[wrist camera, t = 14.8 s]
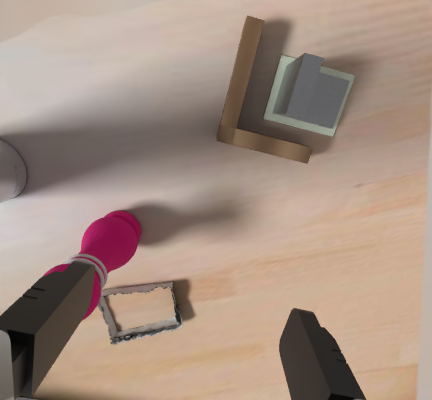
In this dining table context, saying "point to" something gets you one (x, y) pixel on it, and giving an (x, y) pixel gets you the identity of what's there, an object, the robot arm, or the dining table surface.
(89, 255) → the pepper mill
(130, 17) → the dining table surface
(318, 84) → the bracket
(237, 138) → the wooden corner frame
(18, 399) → the snack box
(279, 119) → the pad
